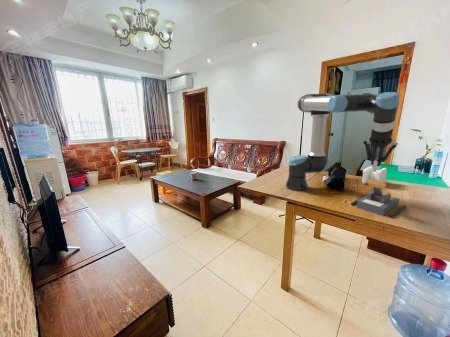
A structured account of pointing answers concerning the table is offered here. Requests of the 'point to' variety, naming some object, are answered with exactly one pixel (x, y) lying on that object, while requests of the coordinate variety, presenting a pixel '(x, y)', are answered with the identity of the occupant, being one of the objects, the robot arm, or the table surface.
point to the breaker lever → (377, 188)
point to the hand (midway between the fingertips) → (374, 169)
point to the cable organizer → (374, 175)
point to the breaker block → (378, 203)
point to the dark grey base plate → (391, 214)
